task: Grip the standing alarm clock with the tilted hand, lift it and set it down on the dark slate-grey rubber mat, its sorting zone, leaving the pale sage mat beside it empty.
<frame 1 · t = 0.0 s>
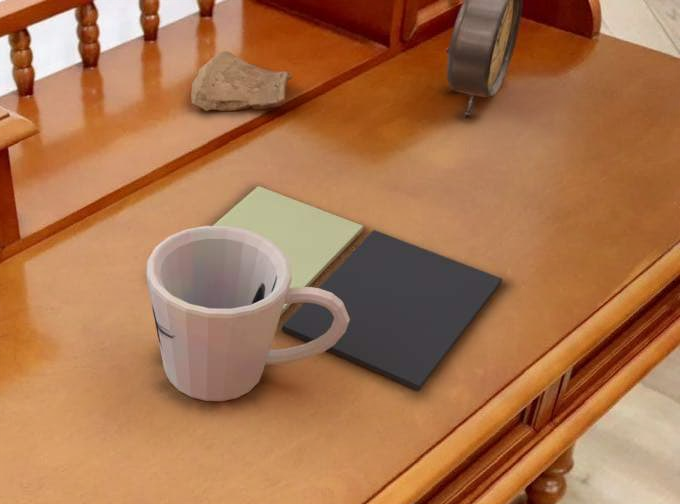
alarm clock: (469, 98, 116), on the table
pottery shard: (242, 94, 117), on the table
slate mat: (393, 306, 90), on the table
sage mat: (263, 253, 96), on the table
mug: (241, 374, 85), on the table
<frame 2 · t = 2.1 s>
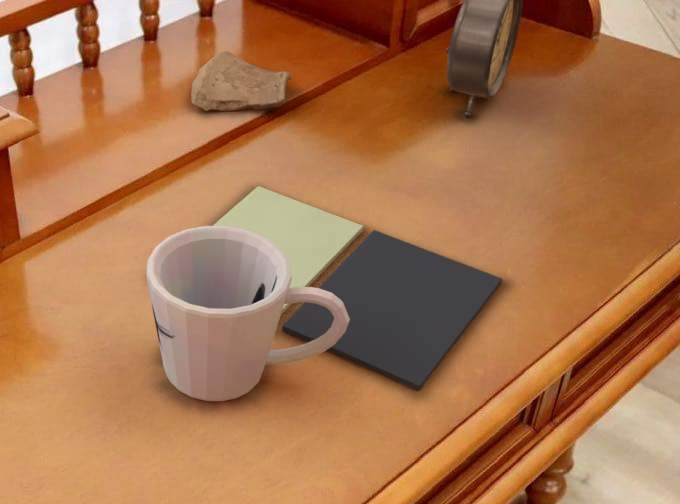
nothing on the table moved.
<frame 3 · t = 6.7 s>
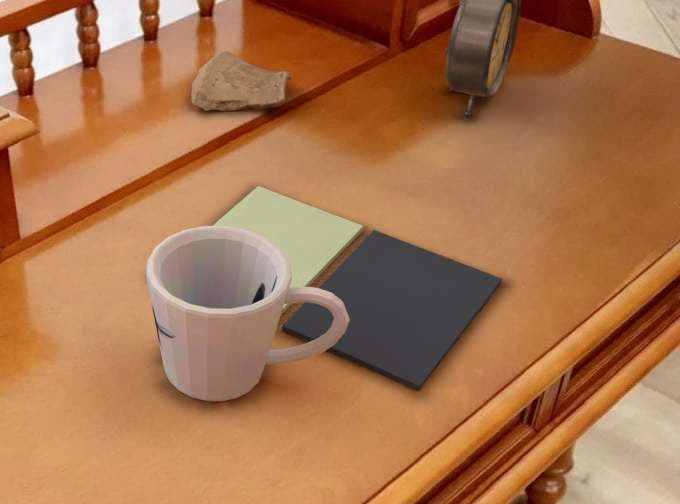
alarm clock: (469, 98, 116), on the table, touching gripper
everything else where it was.
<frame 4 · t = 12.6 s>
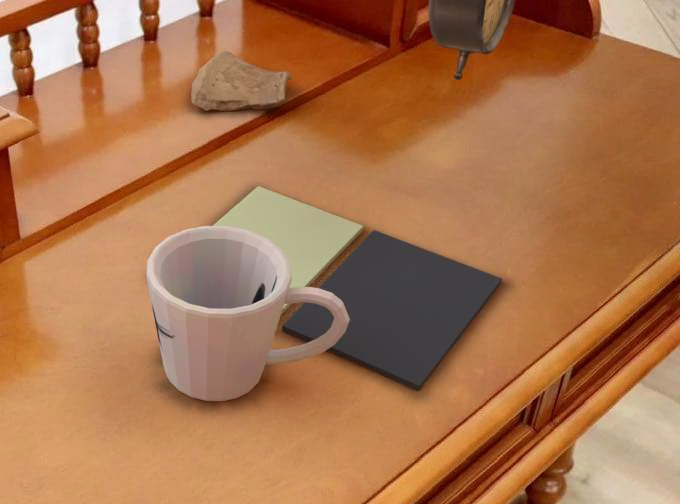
alarm clock: (460, 56, 89), point 16 cm above the table, touching gripper
everything else where it was.
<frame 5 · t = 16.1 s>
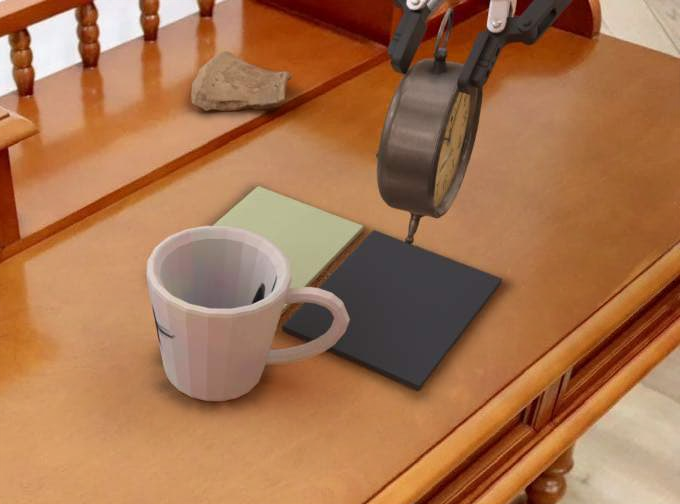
hand: (430, 78, 75), 22 cm above the table, tool tilted 45°, fingers closed on alarm clock, 4 cm apart
alarm clock: (413, 212, 84), point 9 cm above the table, touching gripper
everything else where it was.
when the fingers open (13 cm above the table, at t = 18.9 s): alarm clock stays where it is, resting on slate mat.
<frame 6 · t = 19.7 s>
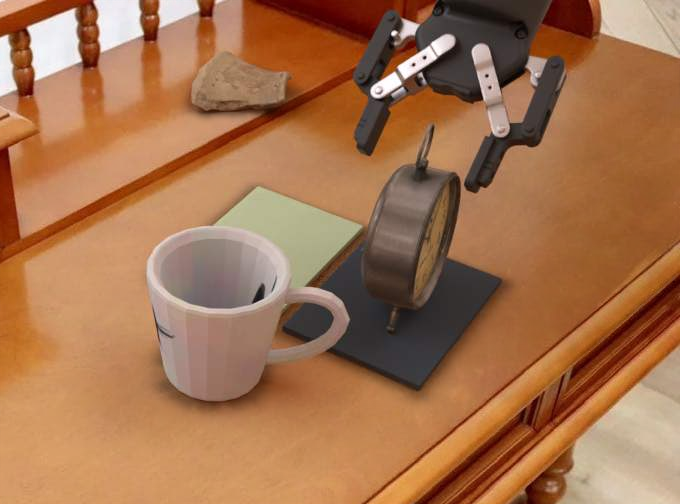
hand: (415, 170, 80), 14 cm above the table, tool tilted 45°, fingers open, 8 cm apart
alarm clock: (395, 300, 90), resting on slate mat
everything else where it was.
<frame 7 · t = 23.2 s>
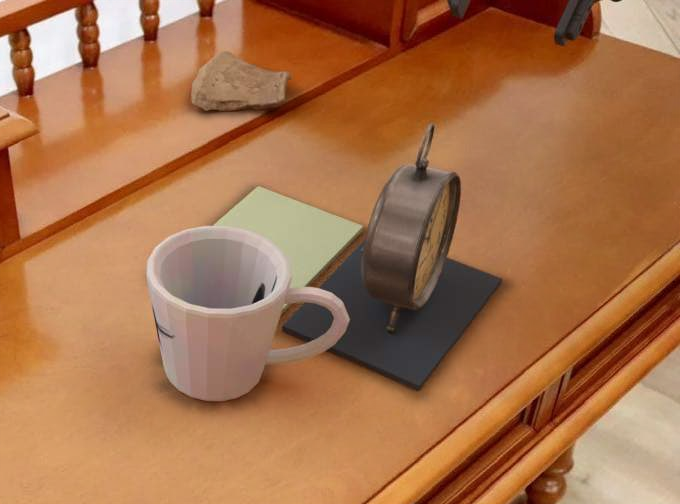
hand: (506, 27, 86), 19 cm above the table, tool tilted 45°, fingers open, 8 cm apart
nothing on the table moved.
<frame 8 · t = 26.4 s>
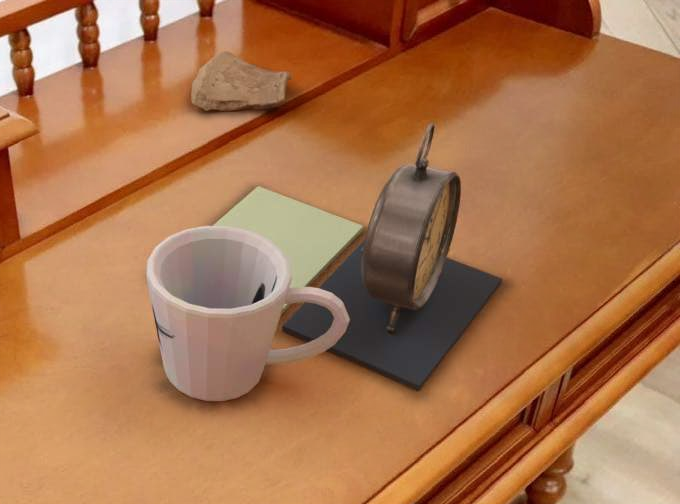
nothing on the table moved.
at the end: alarm clock inside the target area on the slate mat (0.3 cm from its centre), point 0.4 cm above the slate mat's base; alarm clock tilted 0°; the gripper is holding nothing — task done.
